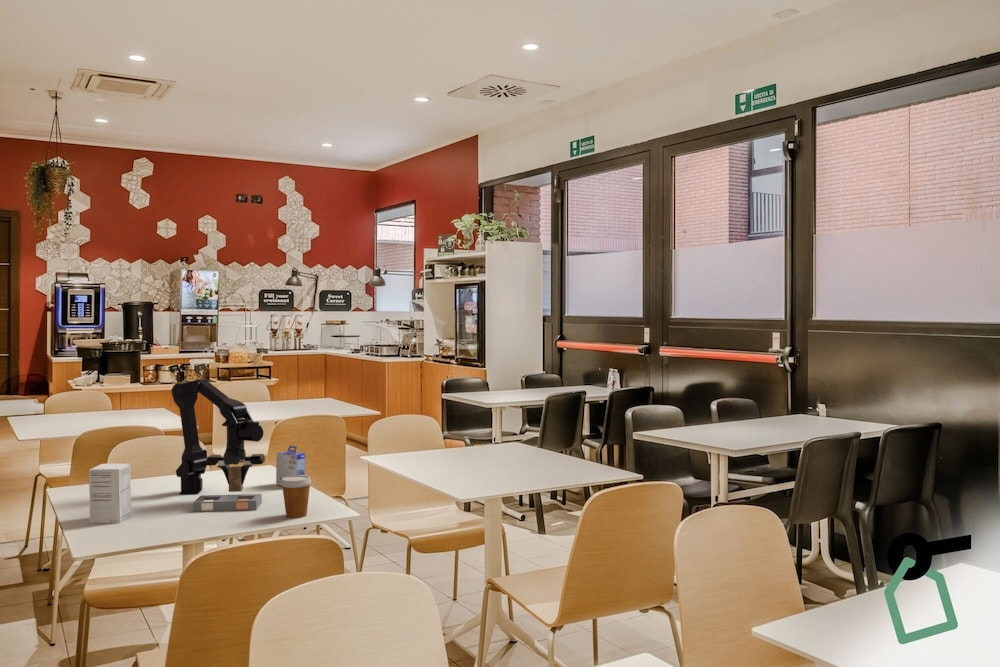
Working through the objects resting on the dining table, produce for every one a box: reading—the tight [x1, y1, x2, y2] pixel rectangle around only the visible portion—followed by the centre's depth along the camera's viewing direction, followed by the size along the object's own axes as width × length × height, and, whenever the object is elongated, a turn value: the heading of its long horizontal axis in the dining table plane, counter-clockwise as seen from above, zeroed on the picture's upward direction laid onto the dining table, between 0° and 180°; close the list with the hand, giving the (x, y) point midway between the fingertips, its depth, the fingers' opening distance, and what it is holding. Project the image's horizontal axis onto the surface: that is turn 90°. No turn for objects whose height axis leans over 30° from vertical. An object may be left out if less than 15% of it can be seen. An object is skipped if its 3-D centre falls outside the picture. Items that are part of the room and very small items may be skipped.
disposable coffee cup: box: [281, 475, 312, 519], centre depth 257 cm, size 10×10×12 cm
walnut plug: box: [228, 465, 244, 493], centre depth 280 cm, size 4×4×8 cm
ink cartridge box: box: [275, 445, 306, 487], centre depth 302 cm, size 10×6×14 cm, turn 66°
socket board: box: [192, 493, 263, 512], centre depth 269 cm, size 20×10×3 cm, turn 97°
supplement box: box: [88, 463, 132, 524], centre depth 253 cm, size 10×9×17 cm
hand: (235, 484), depth 280 cm, fingers closed on walnut plug, 4 cm apart
